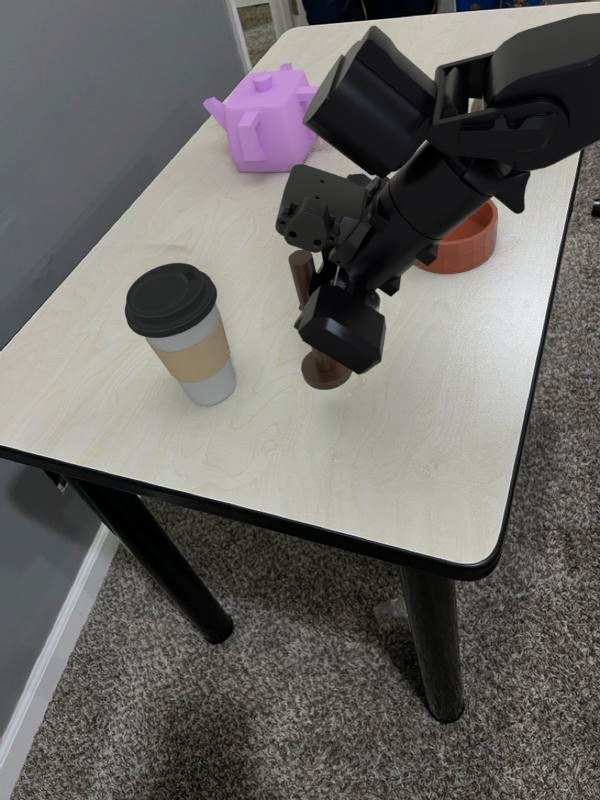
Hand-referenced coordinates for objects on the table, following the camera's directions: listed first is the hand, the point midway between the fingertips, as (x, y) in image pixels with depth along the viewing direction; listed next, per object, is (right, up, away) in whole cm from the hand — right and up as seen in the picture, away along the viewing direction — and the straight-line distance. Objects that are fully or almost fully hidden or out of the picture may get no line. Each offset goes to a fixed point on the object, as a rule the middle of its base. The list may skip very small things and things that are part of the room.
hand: (300, 319), depth 54 cm
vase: (+29, +33, +37) cm, 57 cm away
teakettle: (-4, +35, +47) cm, 59 cm away
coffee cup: (-10, -6, +16) cm, 20 cm away
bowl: (+19, +13, +23) cm, 33 cm away
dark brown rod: (+3, -4, +5) cm, 7 cm away
